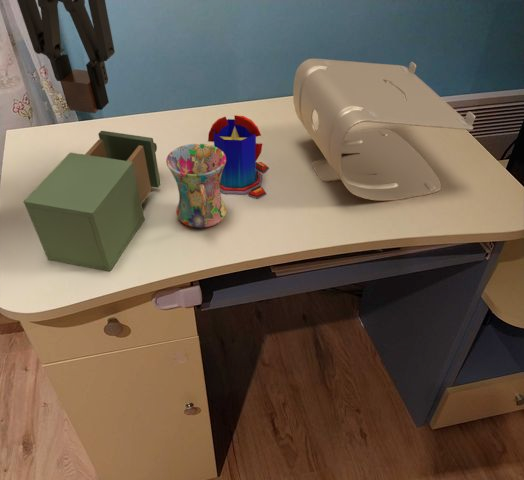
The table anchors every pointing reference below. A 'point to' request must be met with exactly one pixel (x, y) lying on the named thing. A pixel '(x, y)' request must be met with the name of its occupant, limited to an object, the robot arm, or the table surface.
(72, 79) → the block
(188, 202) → the mug
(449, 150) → the table surface
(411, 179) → the laptop stand
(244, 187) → the fantasy tower
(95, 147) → the drawer
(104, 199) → the cabinet
